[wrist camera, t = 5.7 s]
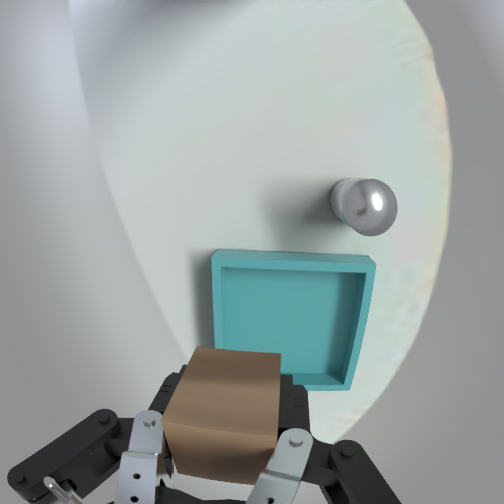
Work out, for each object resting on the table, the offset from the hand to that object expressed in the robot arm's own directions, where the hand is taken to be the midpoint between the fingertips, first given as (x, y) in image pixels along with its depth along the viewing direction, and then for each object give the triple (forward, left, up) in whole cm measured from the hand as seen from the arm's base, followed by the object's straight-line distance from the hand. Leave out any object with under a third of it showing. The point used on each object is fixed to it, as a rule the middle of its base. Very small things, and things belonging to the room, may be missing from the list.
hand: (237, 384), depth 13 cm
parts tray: (+4, +3, -15) cm, 15 cm away
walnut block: (0, 0, 0) cm, 0 cm away
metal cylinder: (-8, +8, -15) cm, 18 cm away
